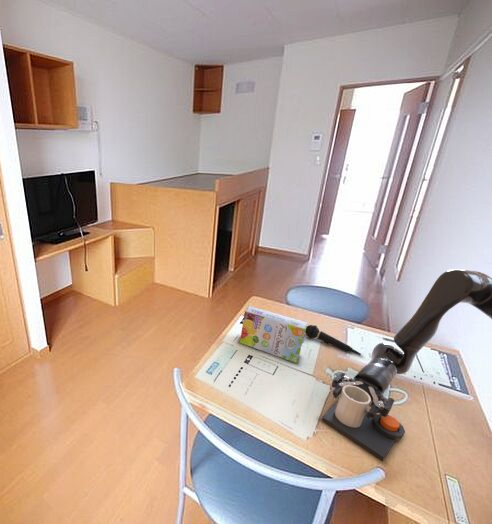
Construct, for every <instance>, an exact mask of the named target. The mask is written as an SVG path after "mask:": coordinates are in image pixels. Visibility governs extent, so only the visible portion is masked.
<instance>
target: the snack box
mask: <svg viewBox="0 0 492 524" xmlns="http://www.w3.org/2000/svg"><path fill="white" fill-rule="evenodd" d="M307 326H308V322H307V321H303V320H300V319H296V318H293V317H289V316H286V315H283V314H279V313H276V312H272V311H269V310H265V309H261V308H259V307H258V308H257V307H255V306H251V305H248V306H247V307H246V309H245V310H244V313H243V319H242V327H241V333H240V339H239V344H242V345H245V346H247V347H251V348H254V349H256V350H259V351H262V352H264V353H268V354H270V355H273V356H275V357H278V358H281V359H284V360H286V361H290V362H292V363H295V364H298V361H299V358H300V356H301V355H300V354H301V350H302V348H303V347H302V346H303V342H304V338H305V335H306V333H305V331H306V327H307Z"/></svg>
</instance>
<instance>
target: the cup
mask: <svg viewBox="0 0 492 524" xmlns="http://www.w3.org/2000/svg"><path fill="white" fill-rule="evenodd" d="M337 401H338V403H337V406H336V409H335V416H336V417H337V419H338V420H339V421H340V422H342V423H343V424H345V425H347V426H349V427H354V428H356V427H359V426H361V424H362V422H363V419H364V417H365V414H366V412H367V411H368V409H369V408H370V406H369V404H370V402H371V397H370V396H369V394H368V393H367V392H365V391H364V390H362V389H361V388H359V387H356V386H353V385H346V386H344V387H343V388H342V391H341V394H340V395H339V396H338V400H337Z"/></svg>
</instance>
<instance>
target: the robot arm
mask: <svg viewBox="0 0 492 524" xmlns="http://www.w3.org/2000/svg"><path fill="white" fill-rule="evenodd" d="M459 303H463V304H469V305H471V306H472V307H474V308H476V309H477V310H479V311H480V312H482V313H483V314H484V315H486V316H487V317H488V318H490V319H491V320H492V277H491V276H490V275H488V274H486V273H484V272H481V271H476V270H469V269H461V268H460V269H459V268H457V269H449V270H446V271H444V272H442V273H441V274H440V275H439V276H438V277H437V279H436V280H435V281H434V283H433V284H432V286H431V288H430V289H429V291H428V293H427V294H426V296H425V297H424V299H423V300H422V302H421V304H420V305H419V307H418V308H417V310H416V311H415V313H414V314H413V315H412V316H411V318H410V319H409V320H408V321H407V322H406V323H405V324H404V325H403V326H402V328H400V329H399V331H398V332H396V334H395V335H394V336H393V342H394V343H395V345H396V346H397V347H398V348H399V349H400V350H399V349H398V348H396V347H395V346H393V345H392V344H391V343H388V342H380V343H377V345H374V347H373V349H372V351H371V358H370V361H369V362H368V363H367V364H366V365H364V366H363V367H362V368H361V369H360V370H359V372H357V373H356V374H355V376H354V377H351V378H350V377H348V376H346V373H345V372H339V374H337V375H336V376H335V377H334V378H333V379H332V381H331V387H332V388H334V389H333V390H332V394H331V395H332V397H333V398H334V399H337V398H339V397H340V394H341V391H342V388H343V387H344V386H346V385H353V386H356V387H359V388H361V389H362V390H364V391H365V392H367V393H368V394H369V396H370V397H371V402H370V404H369V408H370V409H369V410H367V411H368V413H367V416H366V417H367V418H370V417H371V418H374V417H375V416H376V414H381V415H382V416H384V417H387V415H389V413H390V412H391V409H392V408H393V406H394V403H395V399H394V398H392V397H389V398H387V397H385V396H383V394H384V393H385V391H386V390H388V388H389V387H390V386H391V384H392V380H394V378H395V377H396V375H404V374H406V373H408V372H409V371H410V370H411V367H412V365H413V363H414V361H415V358H416V356H417V355H418V353H419V352H420V351H421V350H422V349H423V347H425V346H426V345H427V344H428V343H429V342H430V341H431V340H432V339H433V338H434V336H435V335H436V333H437V331H438V329H439V326H440V323H441V321H442V319H443V317H444V315H446V313H447V312H448V311H450V310H451V309H452V308H454V307H455V306H457V305H459ZM380 402H382V404H383V406H382V405H381V404H380Z"/></svg>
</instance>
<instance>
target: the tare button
mask: <svg viewBox="0 0 492 524" xmlns="http://www.w3.org/2000/svg"><path fill="white" fill-rule="evenodd" d="M399 423H400V421H398V420H397V419H396V418H395V417H393V416H391V415H390V414H388V415H387V417H384V416H382V417H381V419H380V424H381V425H382V426H383V427H384V428H385V429H387V430H389V431H392V432H396V431H397V430H398V428H399V426H400V424H401V423H400V424H399Z"/></svg>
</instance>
